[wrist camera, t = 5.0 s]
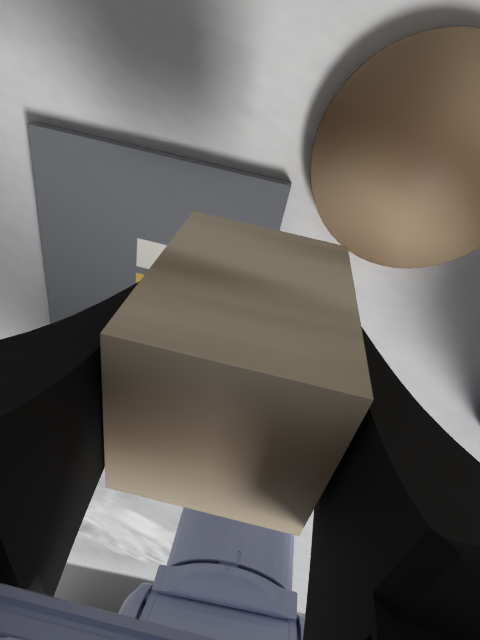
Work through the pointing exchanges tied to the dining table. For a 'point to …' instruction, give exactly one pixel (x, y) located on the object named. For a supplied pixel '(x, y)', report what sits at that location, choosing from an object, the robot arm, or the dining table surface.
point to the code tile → (126, 209)
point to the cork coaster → (405, 153)
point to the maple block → (235, 374)
